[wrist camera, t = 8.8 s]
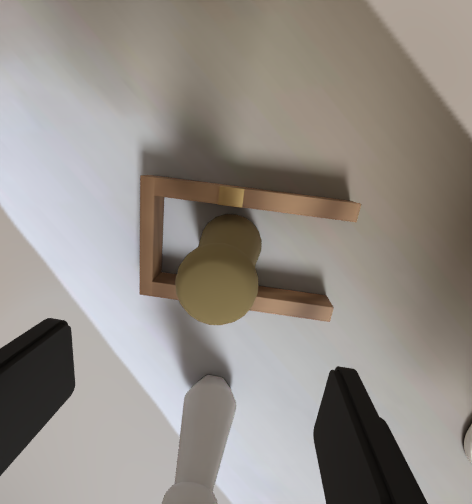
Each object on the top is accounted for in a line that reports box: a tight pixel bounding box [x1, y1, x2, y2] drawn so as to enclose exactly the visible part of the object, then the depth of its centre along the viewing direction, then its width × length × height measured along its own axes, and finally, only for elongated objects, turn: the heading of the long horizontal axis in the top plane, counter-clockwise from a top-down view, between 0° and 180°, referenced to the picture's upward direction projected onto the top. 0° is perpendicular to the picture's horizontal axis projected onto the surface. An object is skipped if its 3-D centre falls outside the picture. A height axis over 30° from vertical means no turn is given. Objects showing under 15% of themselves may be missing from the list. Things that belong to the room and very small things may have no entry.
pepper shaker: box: [175, 214, 261, 325], centre depth 20 cm, size 6×6×11 cm
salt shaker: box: [162, 375, 236, 504], centre depth 24 cm, size 6×6×13 cm
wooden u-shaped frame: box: [140, 175, 361, 322], centre depth 24 cm, size 18×11×3 cm, turn 83°
